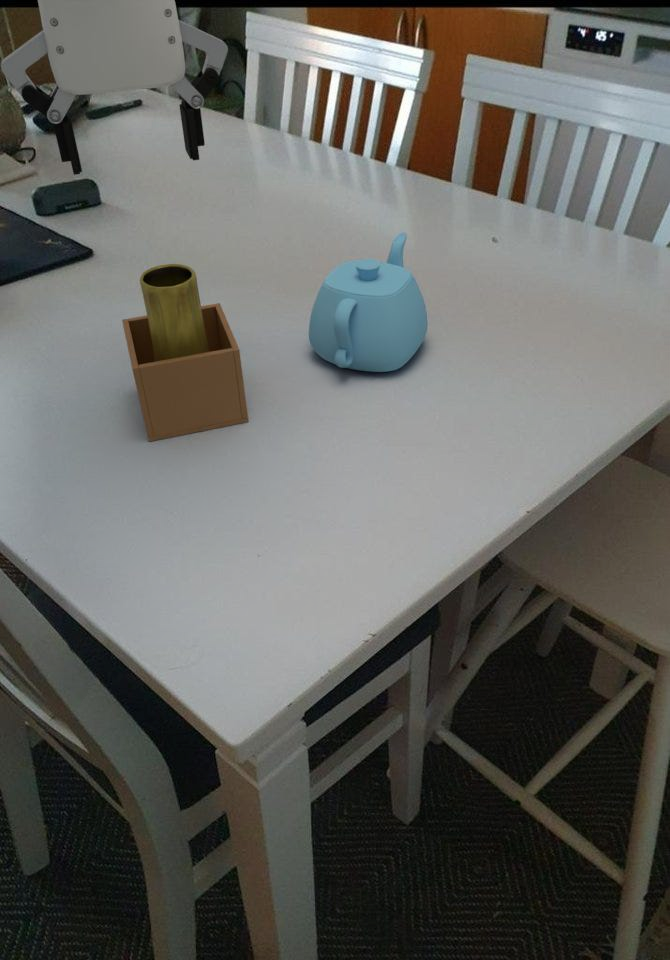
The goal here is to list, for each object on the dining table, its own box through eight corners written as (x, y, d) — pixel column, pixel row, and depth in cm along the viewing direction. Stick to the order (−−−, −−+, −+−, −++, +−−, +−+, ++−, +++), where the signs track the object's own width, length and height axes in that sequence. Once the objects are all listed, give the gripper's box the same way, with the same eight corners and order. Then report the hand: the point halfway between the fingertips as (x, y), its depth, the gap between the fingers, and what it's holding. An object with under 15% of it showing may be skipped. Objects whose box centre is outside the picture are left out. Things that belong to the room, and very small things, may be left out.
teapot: (455, 235, 91) (394, 305, 79) (450, 320, 98) (393, 397, 85) (353, 220, 95) (280, 283, 83) (355, 302, 102) (288, 372, 90)
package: (148, 441, 81) (132, 368, 75) (137, 389, 88) (121, 319, 83) (248, 421, 83) (239, 349, 77) (229, 372, 90) (219, 302, 85)
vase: (195, 424, 82) (172, 295, 73) (148, 408, 84) (120, 282, 75) (230, 394, 86) (212, 268, 77) (184, 380, 88) (162, 257, 79)
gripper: (204, -95, 62) (228, 138, 73) (-34, -83, 58) (28, 161, 69) (222, -89, 56) (246, 163, 67) (-40, -75, 53) (29, 190, 63)
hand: (135, 162), depth 68 cm, fingers open, 9 cm apart
